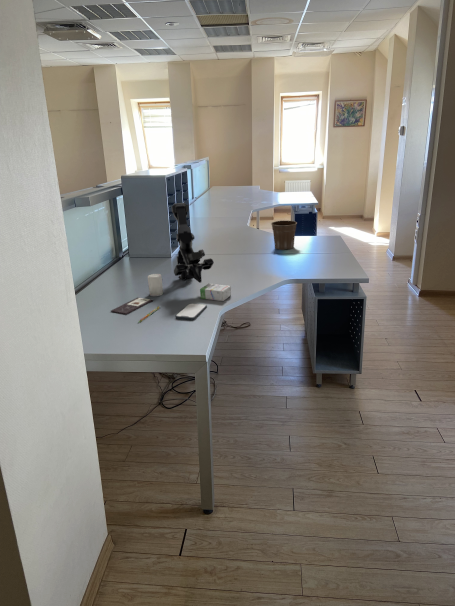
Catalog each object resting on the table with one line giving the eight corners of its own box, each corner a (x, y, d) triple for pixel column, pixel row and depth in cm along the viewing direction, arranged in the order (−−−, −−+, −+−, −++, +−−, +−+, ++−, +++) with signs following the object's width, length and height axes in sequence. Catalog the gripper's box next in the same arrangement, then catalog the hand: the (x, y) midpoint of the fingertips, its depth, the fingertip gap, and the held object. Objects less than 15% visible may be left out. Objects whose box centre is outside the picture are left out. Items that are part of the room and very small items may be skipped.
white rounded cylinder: (147, 293, 214) (145, 275, 211) (160, 290, 217) (158, 273, 214) (152, 297, 209) (150, 278, 206) (165, 294, 212) (163, 276, 209)
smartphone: (189, 306, 197) (174, 319, 183) (189, 303, 197) (174, 316, 182) (208, 308, 194) (194, 321, 180) (207, 304, 194) (194, 317, 180)
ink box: (200, 298, 204) (223, 301, 199) (199, 288, 202) (222, 291, 197) (209, 292, 211) (231, 295, 206) (208, 283, 209) (231, 285, 204)
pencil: (139, 324, 180) (160, 308, 196) (138, 322, 180) (160, 306, 195) (136, 324, 180) (158, 308, 196) (136, 321, 180) (157, 306, 196)
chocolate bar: (110, 310, 194) (137, 297, 208) (110, 312, 194) (137, 299, 209) (126, 313, 189) (152, 299, 204) (126, 315, 190) (152, 301, 204)
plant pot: (290, 251, 276) (290, 226, 270) (267, 249, 284) (266, 224, 278) (300, 246, 289) (301, 221, 283) (278, 244, 297) (278, 219, 291)
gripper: (173, 247, 199) (186, 277, 194) (210, 241, 208) (223, 269, 203) (168, 261, 208) (180, 289, 203) (204, 254, 217) (216, 281, 212)
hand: (200, 282), depth 205 cm, fingers closed
